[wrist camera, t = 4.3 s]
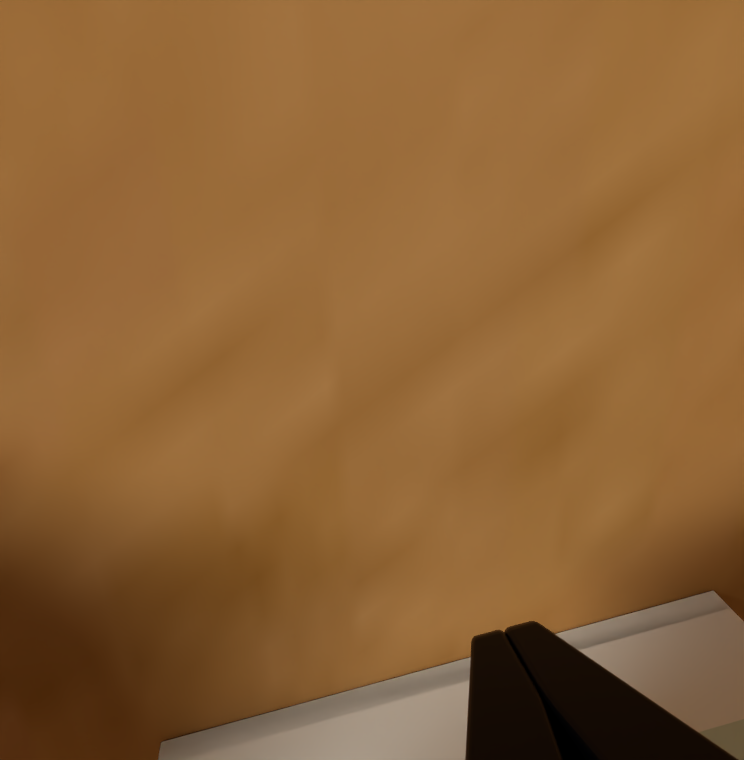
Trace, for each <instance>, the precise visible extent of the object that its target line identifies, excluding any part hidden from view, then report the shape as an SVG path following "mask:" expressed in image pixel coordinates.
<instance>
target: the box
mask: <svg viewBox="0 0 744 760" xmlns="http://www.w3.org/2000/svg"><path fill="white" fill-rule="evenodd" d="M556 635H557V636H558V637H560V638H561V639H563V640H564V641H566V642H567V643H569V644H570V645H572V646H573V647H575V648H576V649H577V650H579V651H580V652H582V653H583V654H585V655H586V656H588V657H589V658H591V659H592V660H594V661H595V662H596V663H598V664H599V665H601V666H602V667H604V668H605V669H607V670H608V671H610V672H611V673H613V674H614V675H615V676H617V677H618V678H620V679H621V680H623V681H624V682H626V683H627V684H629V685H630V686H632V687H633V688H634V689H636V690H637V691H639V692H640V693H642V694H643V695H645V696H646V697H648V698H649V699H651V700H652V701H653V702H655V703H656V704H658V705H659V706H661V707H662V708H664V709H665V710H667V711H668V712H670V713H671V714H672V715H674V716H675V717H677V718H678V719H680V720H681V721H683V722H684V723H686V724H687V725H689V726H690V727H691V728H693V729H694V730H696V731H697V732H701V731H704V730H708V729H711V728H715V727H718V726H722V725H725V724H729V723H732V722H736V721H739V720H742V719H744V621H743V620H742V619H741V618H740V617H739V616H738V615H737V614H736V613H735V612H734V611H733V610H732V609H731V608H730V607H729V606H728V605H727V604H726V603H725V602H724V601H723V600H722V599H721V598H720V597H719V596H718V595H717V594H716V593H715V592H714V591H710V592H706V593H702V594H699V595H695V596H691V597H688V598H684V599H681V600H677V601H673V602H670V603H666V604H662V605H659V606H655V607H651V608H648V609H644V610H640V611H637V612H633V613H630V614H626V615H622V616H619V617H615V618H611V619H608V620H604V621H600V622H597V623H593V624H590V625H586V626H582V627H579V628H575V629H571V630H568V631H564V632H560V633H557V634H556ZM470 660H471V657H469V658H466V659H462V660H458V661H455V662H451V663H447V664H444V665H440V666H437V667H433V668H429V669H426V670H422V671H418V672H415V673H411V674H407V675H404V676H400V677H396V678H393V679H389V680H386V681H382V682H378V683H375V684H371V685H367V686H364V687H360V688H356V689H353V690H349V691H345V692H342V693H338V694H335V695H331V696H327V697H324V698H320V699H316V700H313V701H309V702H305V703H302V704H298V705H294V706H291V707H287V708H284V709H280V710H276V711H273V712H269V713H265V714H262V715H258V716H254V717H251V718H247V719H243V720H240V721H236V722H233V723H229V724H225V725H222V726H218V727H214V728H211V729H207V730H203V731H200V732H196V733H192V734H189V735H185V736H182V737H178V738H174V739H171V740H167V741H163V742H161V745H160V751H159V757H158V760H465V756H466V737H467V717H468V698H469V679H470Z"/></svg>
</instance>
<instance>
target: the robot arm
mask: <svg viewBox="0 0 744 760" xmlns="http://www.w3.org/2000/svg"><path fill="white" fill-rule="evenodd" d="M465 760H738V759H737V758H735V757H734V756H732V755H731V754H729V753H728V752H727V751H725V750H724V749H722V748H721V747H719V746H718V745H716V744H715V743H713V742H712V741H710V740H709V739H708V738H706V737H705V736H703V735H702V734H700V733H699V732H697V731H696V730H694V729H693V728H691V727H690V726H689V725H687V724H686V723H684V722H683V721H681V720H680V719H678V718H677V717H675V716H674V715H672V714H671V713H670V712H668V711H667V710H665V709H664V708H662V707H661V706H659V705H658V704H656V703H655V702H653V701H652V700H651V699H649V698H648V697H646V696H645V695H643V694H642V693H640V692H639V691H637V690H636V689H634V688H633V687H632V686H630V685H629V684H627V683H626V682H624V681H623V680H621V679H620V678H618V677H617V676H615V675H614V674H613V673H611V672H610V671H608V670H607V669H605V668H604V667H602V666H601V665H599V664H598V663H596V662H595V661H594V660H592V659H591V658H589V657H588V656H586V655H585V654H583V653H582V652H580V651H579V650H577V649H576V648H575V647H573V646H572V645H570V644H569V643H567V642H566V641H564V640H563V639H561V638H560V637H558V636H557V635H556V634H554V633H553V632H551V631H550V630H548V629H547V628H545V627H544V626H542V625H541V624H539V623H538V622H535V621H529V622H526V623H522V624H518V625H514V626H510V627H508V628H507V629H506V630H505V632H503V631H501V630H495V631H492V632H488V633H484V634H480V635H477V636H474V637H473V639H472V642H471V660H470V679H469V698H468V717H467V737H466V756H465Z"/></svg>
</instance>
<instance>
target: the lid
mask: <svg viewBox="0 0 744 760" xmlns="http://www.w3.org/2000/svg"><path fill="white" fill-rule="evenodd" d="M699 733H700V734H702V735H703V736H705V737H706V738H708V739H709V740H710V741H712V742H713V743H715V744H716V745H718V746H719V747H721V748H722V749H724V750H725V751H727V752H728V753H729V754H731V755H732V756H734V757H735V758H737V759H738V760H744V719H742V720H739V721H736V722H732V723H729V724H725V725H722V726H718V727H715V728H711V729H708V730H704V731H701V732H699Z"/></svg>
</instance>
